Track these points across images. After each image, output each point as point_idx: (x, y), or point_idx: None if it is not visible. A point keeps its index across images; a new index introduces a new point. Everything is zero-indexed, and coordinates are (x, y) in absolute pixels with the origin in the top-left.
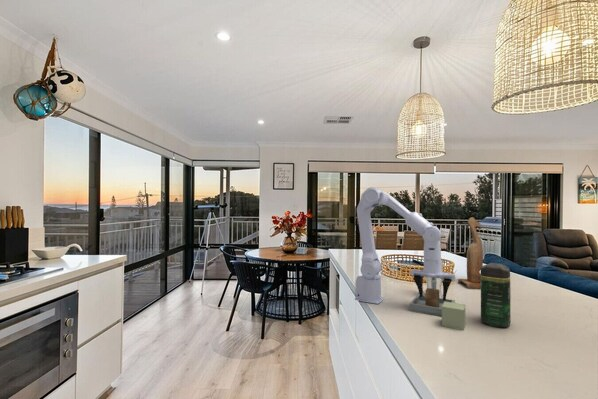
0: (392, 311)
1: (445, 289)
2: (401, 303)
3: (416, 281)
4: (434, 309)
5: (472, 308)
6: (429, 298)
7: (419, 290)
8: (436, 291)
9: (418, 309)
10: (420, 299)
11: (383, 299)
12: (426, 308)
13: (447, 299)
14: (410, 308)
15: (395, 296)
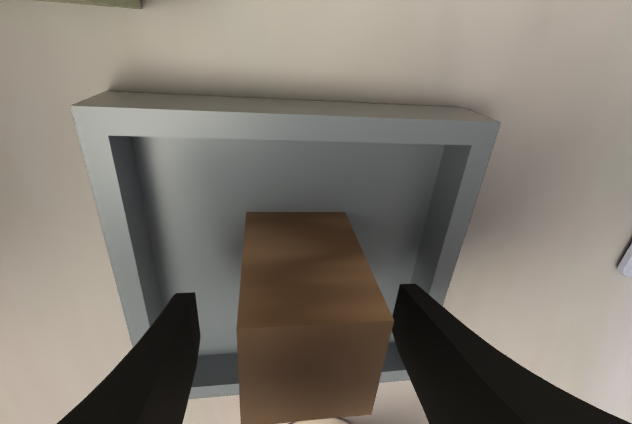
0: (614, 3)
1: (110, 397)
2: (508, 246)
3: (582, 414)
4: (253, 107)
5: (54, 386)
6: (326, 261)
7: (452, 323)
8: (254, 347)
9: (400, 109)
10: (388, 346)
11: (628, 249)
12: (333, 110)
13: (200, 389)
14: (467, 112)
15: (529, 348)
